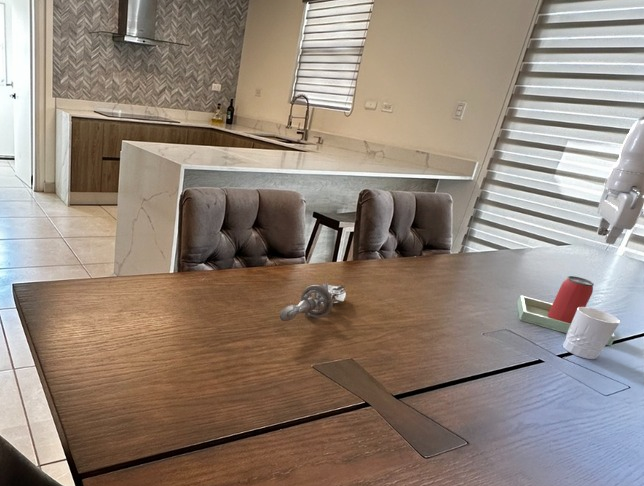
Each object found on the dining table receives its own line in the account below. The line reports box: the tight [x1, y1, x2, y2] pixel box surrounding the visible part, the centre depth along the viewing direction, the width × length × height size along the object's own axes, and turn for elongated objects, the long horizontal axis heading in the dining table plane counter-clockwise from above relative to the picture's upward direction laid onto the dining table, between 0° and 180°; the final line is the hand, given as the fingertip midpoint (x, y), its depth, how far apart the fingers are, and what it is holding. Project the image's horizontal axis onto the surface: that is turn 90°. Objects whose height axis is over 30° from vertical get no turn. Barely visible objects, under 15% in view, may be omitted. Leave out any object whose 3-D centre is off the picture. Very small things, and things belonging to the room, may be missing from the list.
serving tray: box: [516, 294, 616, 347], centre depth 126 cm, size 20×14×3 cm
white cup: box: [562, 306, 621, 360], centre depth 110 cm, size 8×8×10 cm
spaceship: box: [279, 282, 347, 322], centre depth 111 cm, size 8×35×8 cm
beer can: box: [548, 275, 594, 324], centre depth 124 cm, size 7×7×12 cm
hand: (604, 238), depth 118 cm, fingers open, 8 cm apart
